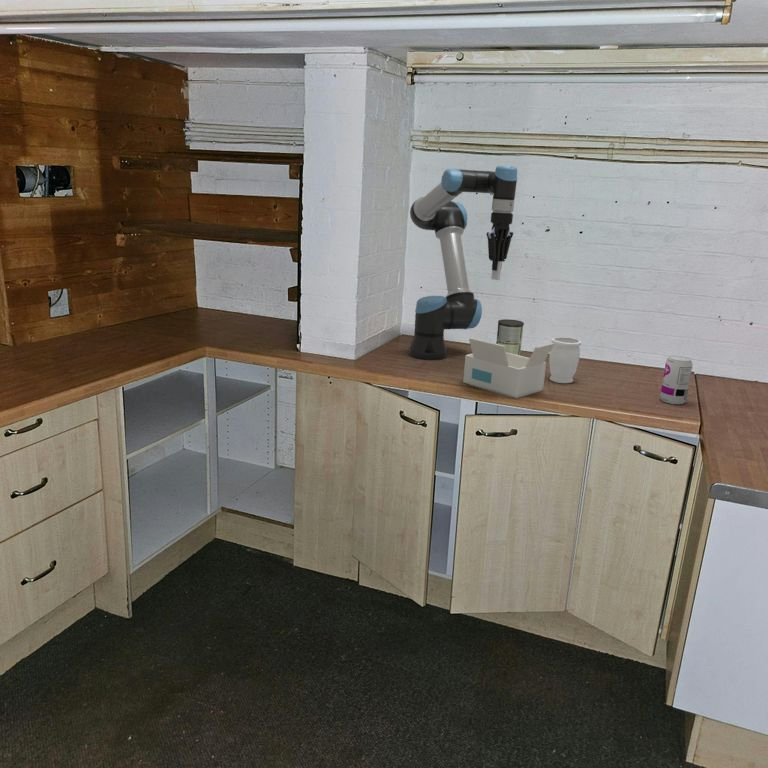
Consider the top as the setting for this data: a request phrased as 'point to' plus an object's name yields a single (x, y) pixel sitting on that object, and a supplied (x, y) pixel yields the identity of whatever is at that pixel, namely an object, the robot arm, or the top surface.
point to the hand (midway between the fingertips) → (495, 279)
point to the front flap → (489, 351)
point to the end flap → (539, 355)
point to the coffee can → (510, 335)
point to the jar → (564, 359)
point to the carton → (505, 376)
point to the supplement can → (676, 380)
